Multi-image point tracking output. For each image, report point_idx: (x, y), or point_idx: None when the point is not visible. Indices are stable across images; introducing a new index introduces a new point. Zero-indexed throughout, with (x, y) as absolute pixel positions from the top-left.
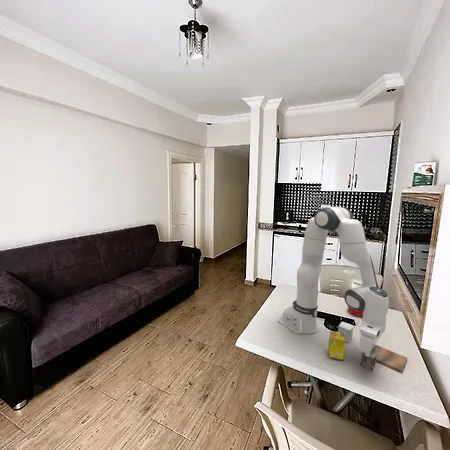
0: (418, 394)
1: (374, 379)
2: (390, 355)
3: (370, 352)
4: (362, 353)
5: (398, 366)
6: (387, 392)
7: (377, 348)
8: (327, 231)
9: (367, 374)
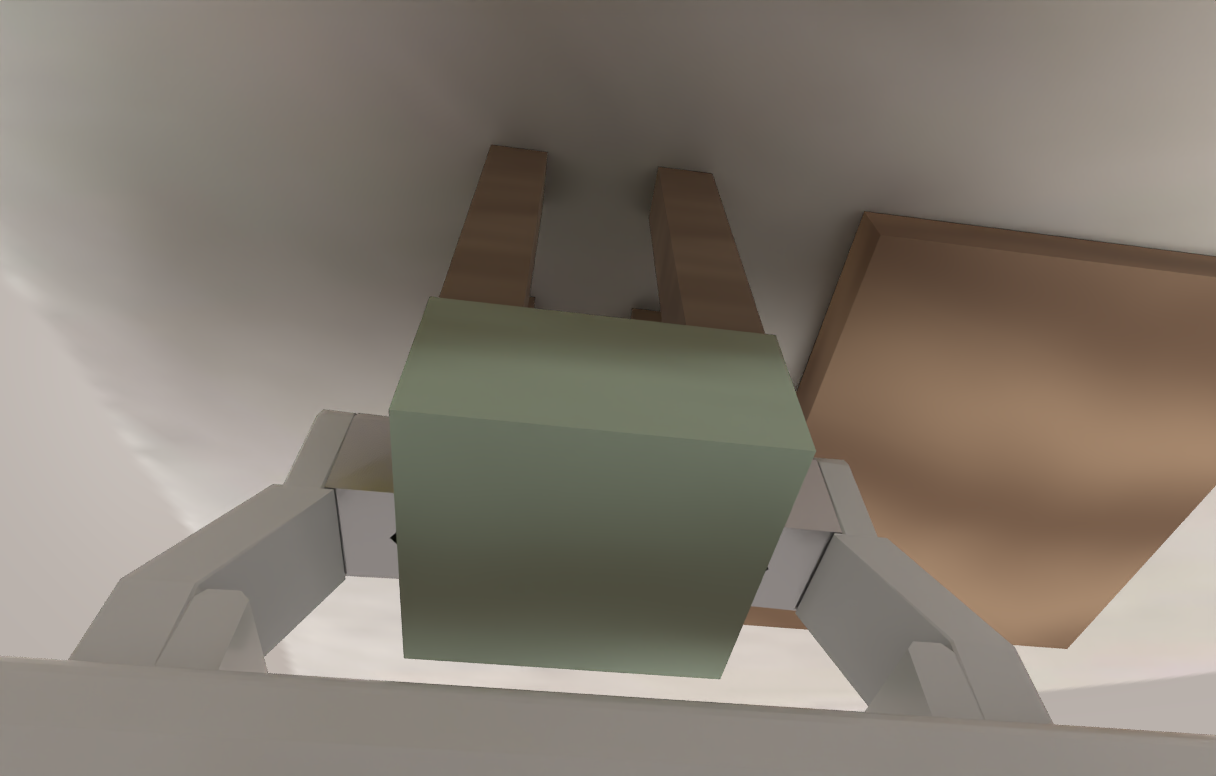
0: (466, 684)
1: (318, 378)
2: (1044, 520)
3: (393, 573)
4: (440, 311)
5: None
6: (211, 509)
7: (702, 674)
8: None
9: (346, 284)
